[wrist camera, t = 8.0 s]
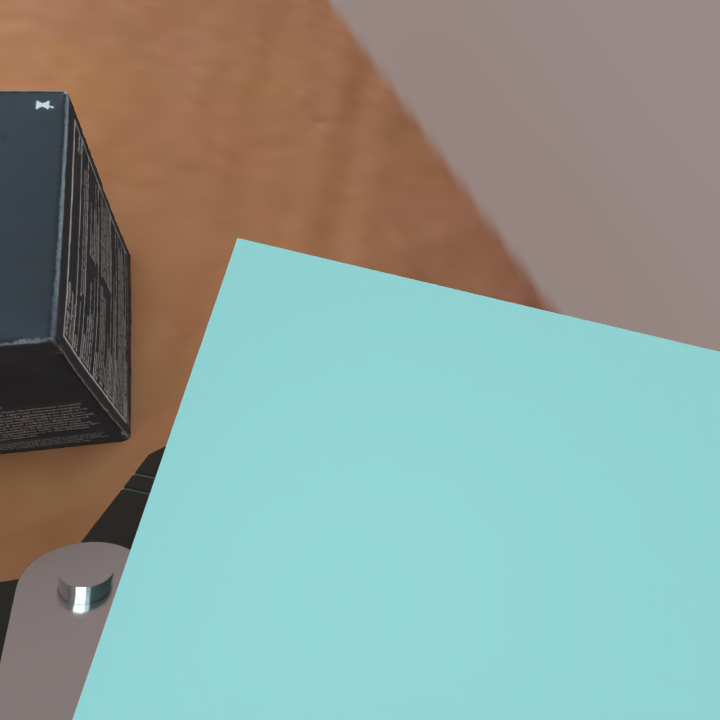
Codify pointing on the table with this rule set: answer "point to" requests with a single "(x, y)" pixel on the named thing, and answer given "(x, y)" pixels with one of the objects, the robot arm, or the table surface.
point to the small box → (58, 284)
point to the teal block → (421, 514)
